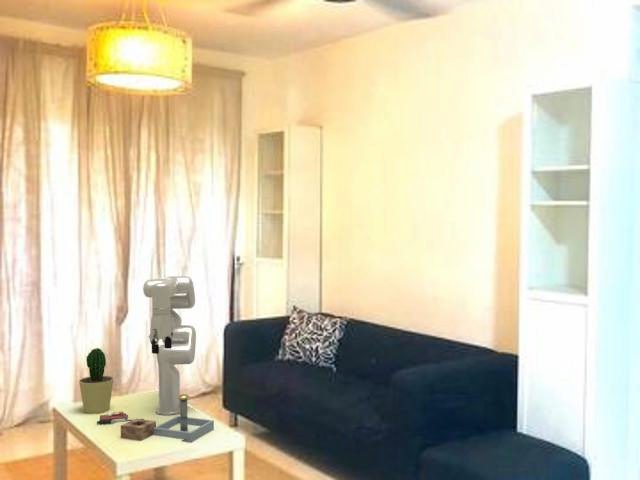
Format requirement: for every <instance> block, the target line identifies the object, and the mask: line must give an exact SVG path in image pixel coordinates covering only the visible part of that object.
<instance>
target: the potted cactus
mask: <svg viewBox="0 0 640 480" xmlns="http://www.w3.org/2000/svg"><path fill="white" fill-rule="evenodd" d="M87 352H88V351H87ZM85 358H86V359H85V361H86V362H85V363H86V367H87V368H88V374H89V376H85V377H82V378H80V379H79V380H78V382H79V388H80V393H81V401H82V406H83V407H82V408H83V412H84V413H85V414H87V415H88V414H89V415H97V414H99V415H100V414H103V413H106V412H107V413H108V412H109V410H110V407H111V400H112V393H113V384H114V377H113V376H110V375H105V371H106V369H107V368H108V366H107V361H106V360H107V356H106V353H105V352H104V351H103V350H102V348H100V347H95V348H94V349H90V352H88V353H87V356H86V355H85ZM105 368H106V369H105Z"/></svg>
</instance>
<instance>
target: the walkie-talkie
mask: <svg viewBox="0 0 640 480" xmlns="http://www.w3.org/2000/svg"><path fill="white" fill-rule="evenodd" d="M128 418H129V414H127V413H125V412H124V411H120V410H119V411H113V412H111V413H108V412H107V413H106V414H99V420H98V421H96V424H99V426H100V425H101V426H102V424H103V425H114V424H117V423H122V422H123V423H125V422H130V421H132V420H134V418H133V419H128ZM142 419H143V420H145V419H144V418H142Z"/></svg>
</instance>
